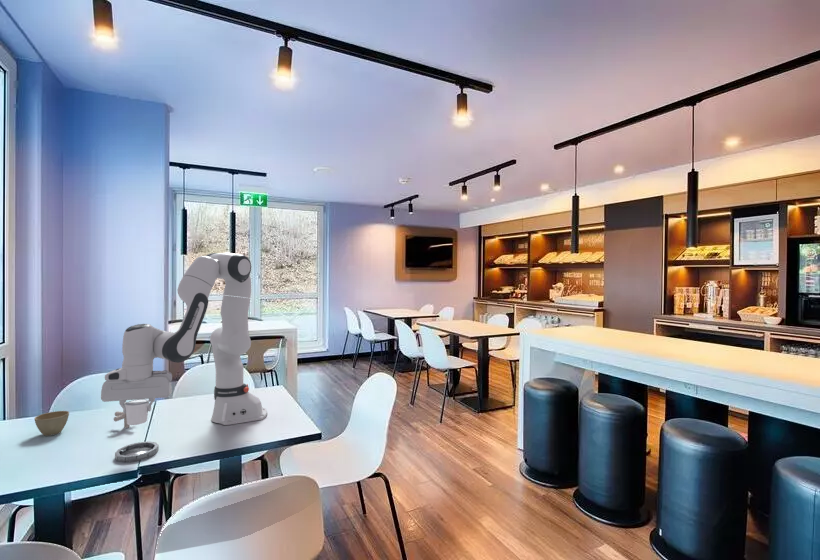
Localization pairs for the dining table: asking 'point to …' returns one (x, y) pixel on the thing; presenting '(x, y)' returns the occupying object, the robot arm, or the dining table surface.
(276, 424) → the dining table surface
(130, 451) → the bowl
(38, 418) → the tan bowl
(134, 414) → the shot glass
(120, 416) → the pipe connector
